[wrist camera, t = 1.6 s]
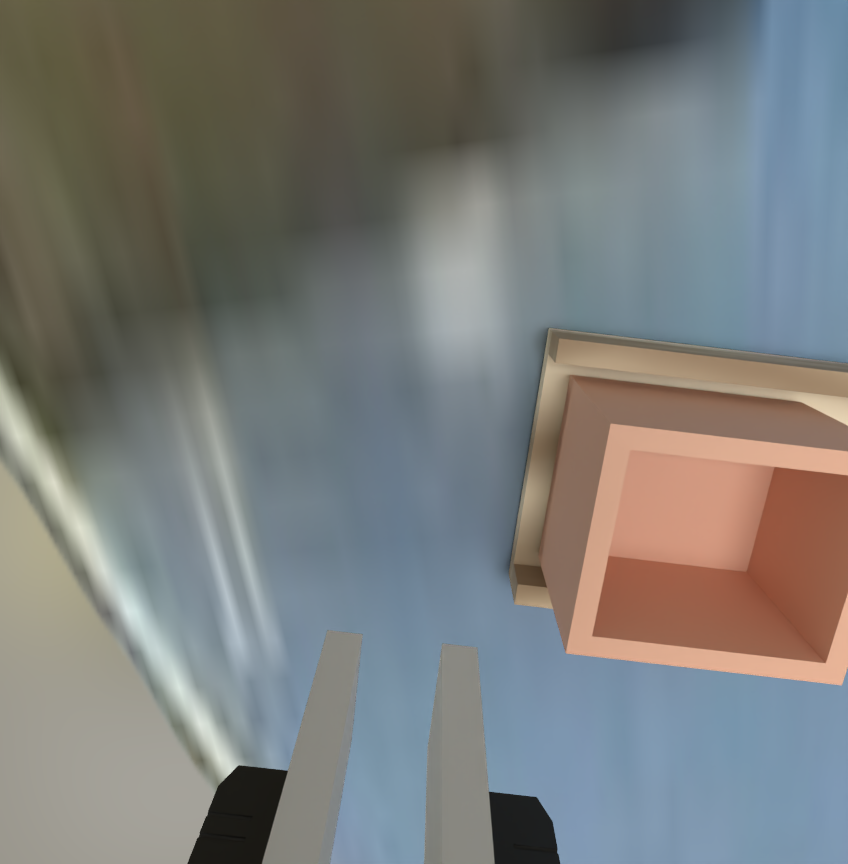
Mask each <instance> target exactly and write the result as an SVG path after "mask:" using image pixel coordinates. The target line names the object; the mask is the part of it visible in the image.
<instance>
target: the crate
mask: <svg viewBox="0 0 848 864" xmlns="http://www.w3.org/2000/svg"><path fill="white" fill-rule="evenodd" d="M538 557H539V561H540V564H541V568H542V571H543V575H544V578H545V582H546V586H547V589H548V593H549V596H550V600H551V603H552V607H553V610H554V614H555V617H556V621H557V624H558V628H559V631H560V635H561V638H562V642H563V645H564V649H565V652H566V653H568V654H576V655H585V656H594V657H602V658H611V659H620V660H628V661H637V662H646V663H654V664H663V665H672V666H680V667H689V668H698V669H706V670H715V671H724V672H732V673H741V674H750V675H758V676H767V677H776V678H784V679H793V680H802V681H810V682H819V683H828V684H836V685H842V683H843V680H844V677H845V674H846V671H847V668H848V426H847V425H845V424H843V423H842V422H840V421H838V420H836V419H834V418H832V417H830V416H828V415H826V414H824V413H822V412H820V411H818V410H816V409H814V408H812V407H810V406H808V405H806V404H804V403H802V402H796V401H788V400H779V399H771V398H762V397H754V396H745V395H737V394H729V393H720V392H712V391H703V390H695V389H687V388H678V387H670V386H661V385H653V384H644V383H636V382H628V381H619V380H611V379H602V378H594V377H585V376H577V375H570V378H569V384H568V390H567V395H566V401H565V407H564V413H563V418H562V424H561V430H560V435H559V441H558V447H557V452H556V458H555V464H554V470H553V475H552V481H551V487H550V492H549V498H548V504H547V509H546V515H545V521H544V526H543V532H542V538H541V544H540V549H539V555H538Z"/></svg>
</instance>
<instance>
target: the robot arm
mask: <svg viewBox="0 0 848 864" xmlns="http://www.w3.org/2000/svg"><path fill="white" fill-rule="evenodd" d="M362 635H363V634H355V633H347V632H338V631H329V630H328V631H327V634H326V638H325V641H324V645H323V648H322V652H321V655H320V659H319V662H318V666H317V670H316V673H315V677H314V680H313V684H312V687H311V691H310V694H309V698H308V702H307V705H306V709H305V712H304V716H303V719H302V723H301V726H300V730H299V734H298V737H297V741H296V744H295V748H294V751H293V755H292V758H291V762H290V766H289V769H288V771H284V770H276V769H267V768H258V767H249V766H240V765H239V766H238V767H237V768H236V769H235V770H234V771H233V772H232V773H231V774H230V775H229V776H228V777H227V778H226V779H225V780H224V781H223V782H222V783H221V784H220V785H219V786H218V788H217V791H216V793H215V796H214V798H213V801H212V804H211V806H210V808H209V811H208V815H207V817H206V818H205V821H204V823H203V826H202V828H201V831H200V835H199V838H197V841H196V843H195V846H194V849H193V851H192V854H191V856H190V859H189V862H188V864H330V860H331V854H332V849H333V843H334V837H335V831H336V826H337V820H338V814H339V809H340V803H341V797H342V792H343V786H344V780H345V775H346V769H347V763H348V757H349V752H350V746H351V740H352V731H353V721H354V712H355V702H356V692H357V683H358V673H359V664H360V654H361V644H362ZM424 864H560V860H559V855H558V854H557V844H556V838H555V833H554V827H553V822H552V820H551V819H550V817H549V816H548V814H547V813H546V811H545V809H544V808H543V806H542V805H541V803H540V802H539V800H538V799H537V797H530V796H521V795H513V794H504V793H495V792H489V788H488V775H487V763H486V751H485V738H484V726H483V713H482V701H481V689H480V676H479V664H478V652H477V647H468V646H459V645H451V644H442V649H441V656H440V663H439V671H438V678H437V685H436V692H435V699H434V706H433V713H432V721H431V728H430V735H429V742H428V752H427V787H426V822H425V857H424Z"/></svg>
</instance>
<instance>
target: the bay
mask: <svg viewBox="0 0 848 864" xmlns="http://www.w3.org/2000/svg"><path fill="white" fill-rule="evenodd" d="M570 375H577V376H585V377H594V378H602V379H611V380H619V381H628V382H636V383H644V384H653V385H661V386H670V387H678V388H687V389H695V390H703V391H712V392H720V393H729V394H737V395H745V396H754V397H762V398H771V399H779V400H788V401H796V402H802V403H804V404H806V405H808V406H810V407H812V408H814V409H816V410H818V411H820V412H822V413H824V414H826V415H828V416H830V417H832V418H834V419H836V420H838V421H840V422H842V423H843V424H845V425H847V426H848V363H839V362H831V361H823V360H814V359H806V358H798V357H789V356H781V355H772V354H764V353H756V352H747V351H739V350H730V349H722V348H714V347H705V346H697V345H689V344H680V343H672V342H663V341H655V340H647V339H638V338H630V337H621V336H613V335H605V334H596V333H588V332H579V331H571V330H563V329H554V328H549V330H548V336H547V342H546V348H545V354H544V360H543V367H542V373H541V379H540V385H539V391H538V397H537V403H536V409H535V415H534V421H533V428H532V434H531V440H530V446H529V452H528V458H527V464H526V470H525V476H524V482H523V488H522V495H521V501H520V507H519V513H518V519H517V525H516V531H515V537H514V543H513V549H512V556H511V562H510V568H509V578H510V583H511V588H512V594H513V599H514V604H517V605H525V606H534V607H542V608H551V609H553V607H552V603H551V600H550V596H549V593H548V589H547V586H546V582H545V578H544V575H543V571H542V568H541V564H540V561H539V557H538V555H539V549H540V544H541V538H542V532H543V526H544V521H545V515H546V509H547V504H548V498H549V492H550V487H551V481H552V475H553V470H554V464H555V458H556V452H557V447H558V441H559V435H560V430H561V424H562V418H563V413H564V407H565V401H566V395H567V390H568V384H569V378H570Z"/></svg>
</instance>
